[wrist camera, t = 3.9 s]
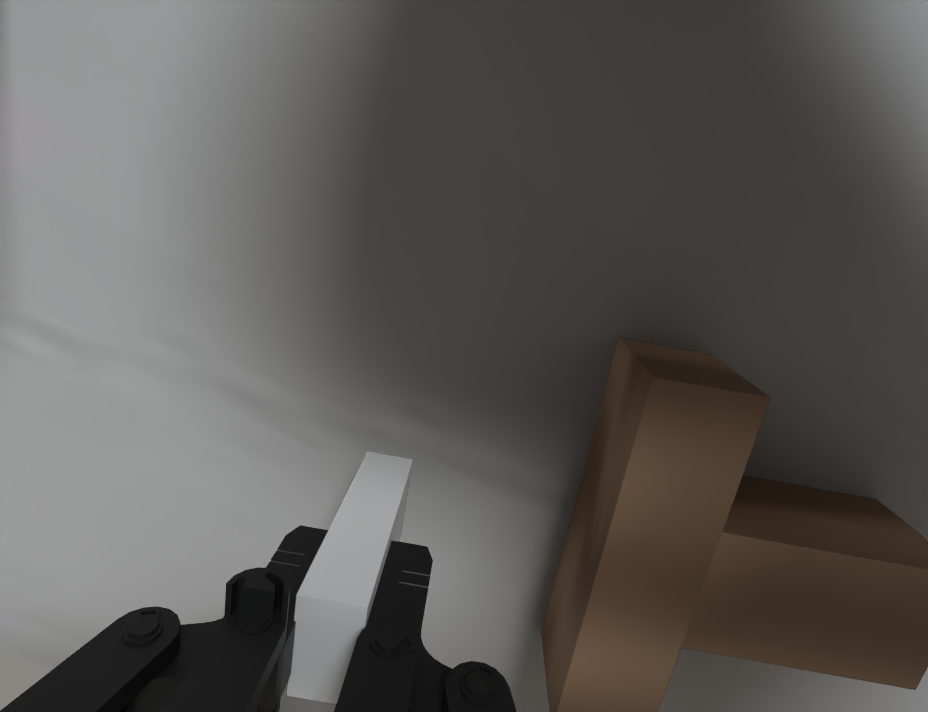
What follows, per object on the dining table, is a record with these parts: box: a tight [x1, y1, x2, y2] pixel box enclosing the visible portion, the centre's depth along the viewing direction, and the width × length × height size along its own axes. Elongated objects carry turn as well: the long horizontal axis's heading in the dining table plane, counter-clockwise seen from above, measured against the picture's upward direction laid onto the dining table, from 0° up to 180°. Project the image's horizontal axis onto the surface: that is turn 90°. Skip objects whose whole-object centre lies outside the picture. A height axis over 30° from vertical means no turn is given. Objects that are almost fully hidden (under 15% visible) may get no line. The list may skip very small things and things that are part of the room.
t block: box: [541, 338, 928, 712], centre depth 17 cm, size 12×10×4 cm
